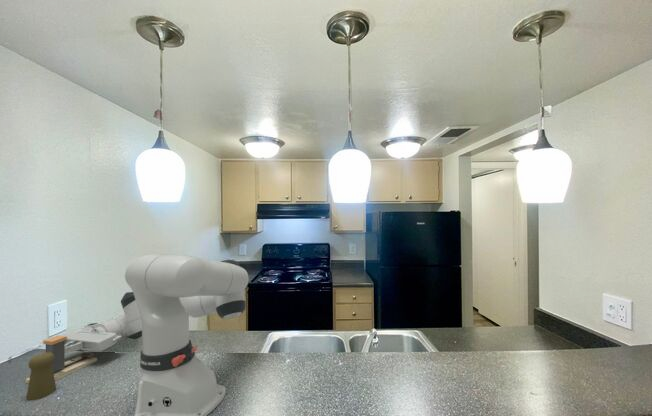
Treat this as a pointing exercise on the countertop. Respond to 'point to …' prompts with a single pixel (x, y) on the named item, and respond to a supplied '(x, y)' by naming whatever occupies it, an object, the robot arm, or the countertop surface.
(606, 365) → the countertop surface
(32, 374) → the cork
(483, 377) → the countertop surface
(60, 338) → the fader knob
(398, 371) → the countertop surface
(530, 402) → the countertop surface
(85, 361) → the fader board
